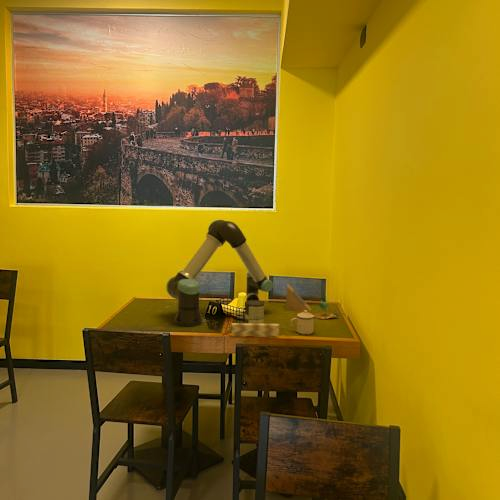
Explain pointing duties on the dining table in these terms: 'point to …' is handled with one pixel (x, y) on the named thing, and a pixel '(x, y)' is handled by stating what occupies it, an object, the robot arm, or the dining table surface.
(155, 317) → the dining table surface
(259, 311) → the coffee can
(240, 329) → the birch board
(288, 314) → the dining table surface
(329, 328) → the dining table surface
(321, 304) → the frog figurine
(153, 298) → the dining table surface
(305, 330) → the teacup with lid
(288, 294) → the sandwich container
